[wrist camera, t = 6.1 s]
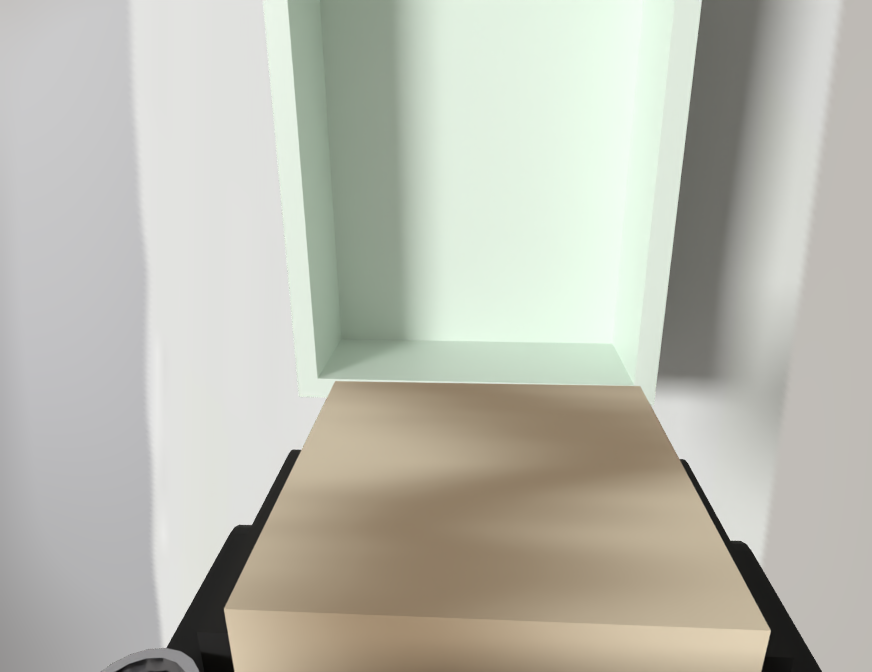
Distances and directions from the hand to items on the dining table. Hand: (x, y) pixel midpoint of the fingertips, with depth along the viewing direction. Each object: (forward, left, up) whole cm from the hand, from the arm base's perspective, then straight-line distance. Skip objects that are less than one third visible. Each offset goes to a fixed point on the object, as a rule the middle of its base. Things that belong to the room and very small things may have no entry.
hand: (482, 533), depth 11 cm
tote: (+4, -2, -18) cm, 19 cm away
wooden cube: (0, 0, -1) cm, 1 cm away
